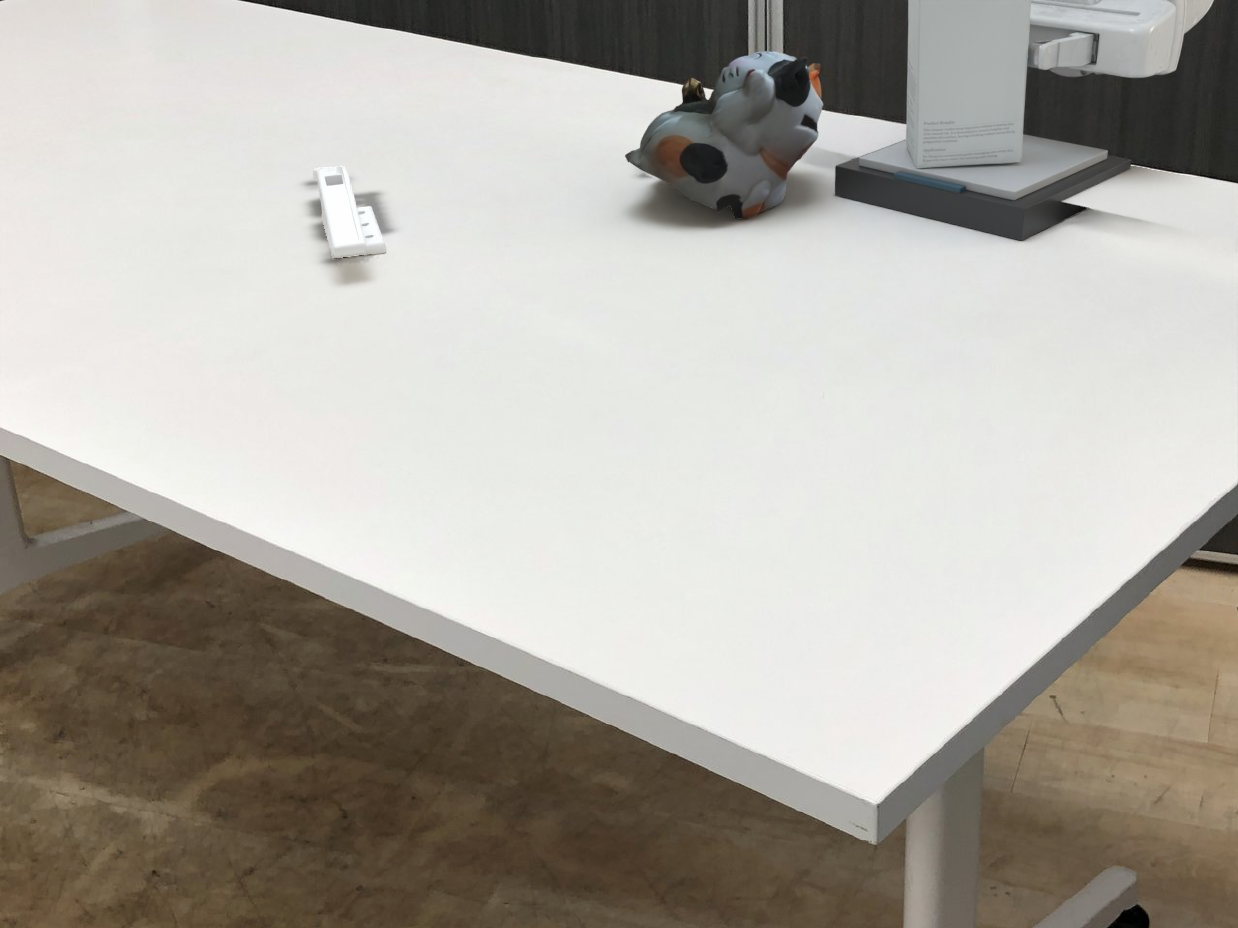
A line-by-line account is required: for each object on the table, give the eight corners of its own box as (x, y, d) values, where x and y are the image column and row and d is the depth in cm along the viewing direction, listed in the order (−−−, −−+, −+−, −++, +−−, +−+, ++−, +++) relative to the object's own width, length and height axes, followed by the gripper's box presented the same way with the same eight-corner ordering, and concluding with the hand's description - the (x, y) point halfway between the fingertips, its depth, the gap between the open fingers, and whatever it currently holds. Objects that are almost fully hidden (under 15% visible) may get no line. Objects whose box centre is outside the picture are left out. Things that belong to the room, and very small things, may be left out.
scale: (1127, 189, 112) (1132, 150, 111) (1021, 241, 103) (1025, 199, 102) (944, 151, 123) (947, 115, 122) (834, 195, 114) (835, 157, 113)
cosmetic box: (1006, 144, 113) (1022, -54, 106) (1022, 167, 108) (1040, -40, 101) (899, 148, 114) (908, -48, 107) (910, 171, 109) (920, -34, 102)
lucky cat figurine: (669, 165, 123) (746, 13, 118) (787, 236, 120) (871, 82, 115) (597, 164, 109) (680, -8, 104) (727, 244, 106) (819, 70, 101)
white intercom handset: (366, 195, 120) (357, 131, 117) (395, 277, 103) (386, 203, 100) (317, 201, 119) (307, 136, 116) (338, 285, 102) (327, 211, 99)
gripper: (974, -35, 121) (873, -8, 113) (1207, -10, 108) (1112, 22, 99) (969, 41, 124) (870, 73, 116) (1195, 75, 111) (1102, 113, 102)
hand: (984, 50), depth 107 cm, fingers closed on cosmetic box, 7 cm apart
